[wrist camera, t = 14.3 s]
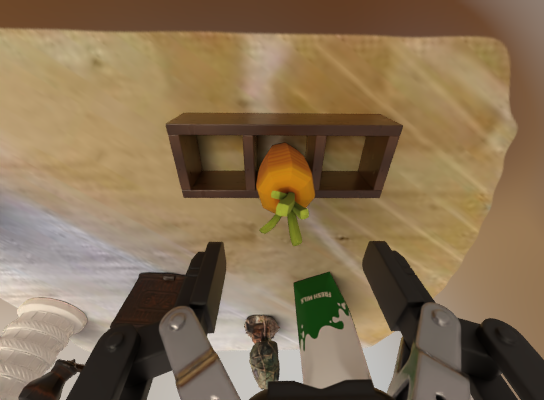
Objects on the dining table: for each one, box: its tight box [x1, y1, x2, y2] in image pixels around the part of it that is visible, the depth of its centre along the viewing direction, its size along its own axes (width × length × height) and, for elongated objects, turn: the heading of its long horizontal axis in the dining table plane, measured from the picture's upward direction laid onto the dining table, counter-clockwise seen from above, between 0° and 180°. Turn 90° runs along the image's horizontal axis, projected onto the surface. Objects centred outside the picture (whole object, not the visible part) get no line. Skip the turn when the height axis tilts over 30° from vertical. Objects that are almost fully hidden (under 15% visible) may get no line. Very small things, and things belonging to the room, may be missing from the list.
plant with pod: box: [244, 315, 280, 390], centre depth 39 cm, size 8×11×20 cm
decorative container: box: [0, 298, 87, 400], centre depth 37 cm, size 12×12×18 cm
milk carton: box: [294, 272, 374, 389], centre depth 33 cm, size 9×9×20 cm
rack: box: [166, 113, 403, 198], centre depth 24 cm, size 8×22×5 cm, turn 90°
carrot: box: [256, 142, 315, 246], centre depth 20 cm, size 5×5×15 cm
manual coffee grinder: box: [18, 273, 186, 400], centre depth 33 cm, size 16×11×18 cm
